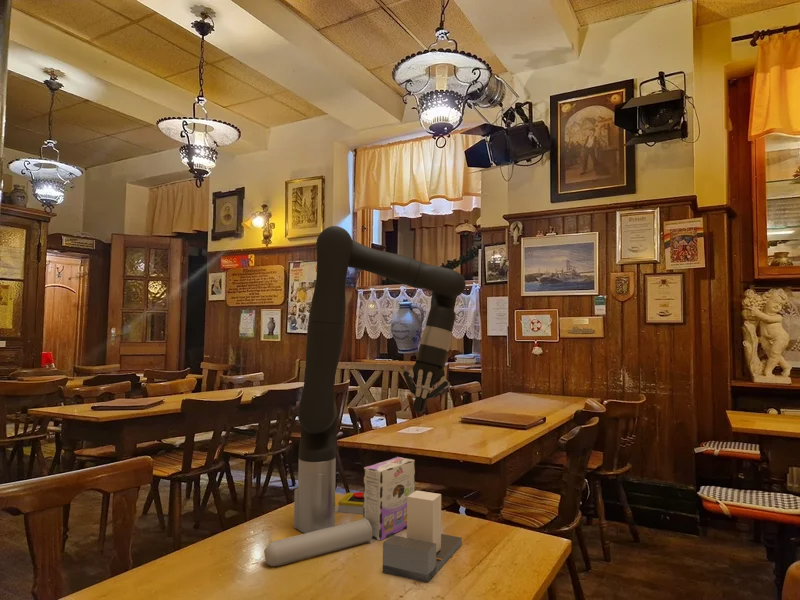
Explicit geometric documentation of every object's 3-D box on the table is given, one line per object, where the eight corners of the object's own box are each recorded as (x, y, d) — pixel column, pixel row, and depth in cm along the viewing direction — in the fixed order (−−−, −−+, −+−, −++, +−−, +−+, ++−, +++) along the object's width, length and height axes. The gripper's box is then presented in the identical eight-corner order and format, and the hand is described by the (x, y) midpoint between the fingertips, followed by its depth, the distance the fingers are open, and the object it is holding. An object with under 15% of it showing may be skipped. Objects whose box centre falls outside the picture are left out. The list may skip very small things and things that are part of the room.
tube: (271, 554, 111) (374, 527, 126) (262, 537, 115) (362, 513, 130) (268, 576, 112) (370, 547, 127) (259, 559, 117) (359, 532, 131)
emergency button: (342, 487, 156) (393, 491, 153) (342, 502, 156) (393, 507, 153) (332, 497, 147) (385, 501, 144) (331, 513, 147) (385, 518, 144)
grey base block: (382, 572, 112) (382, 542, 112) (422, 536, 131) (422, 511, 131) (427, 582, 107) (428, 551, 108) (461, 544, 126) (462, 517, 127)
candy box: (397, 519, 142) (398, 455, 143) (415, 524, 138) (416, 459, 139) (361, 535, 131) (362, 466, 132) (380, 541, 128) (381, 470, 128)
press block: (406, 551, 118) (407, 496, 118) (415, 543, 122) (416, 490, 123) (432, 556, 115) (432, 500, 116) (440, 548, 120) (441, 494, 120)
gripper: (406, 338, 139) (389, 405, 137) (454, 349, 134) (438, 419, 132) (415, 343, 146) (400, 406, 144) (462, 353, 141) (446, 419, 139)
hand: (418, 412), depth 138 cm, fingers closed
